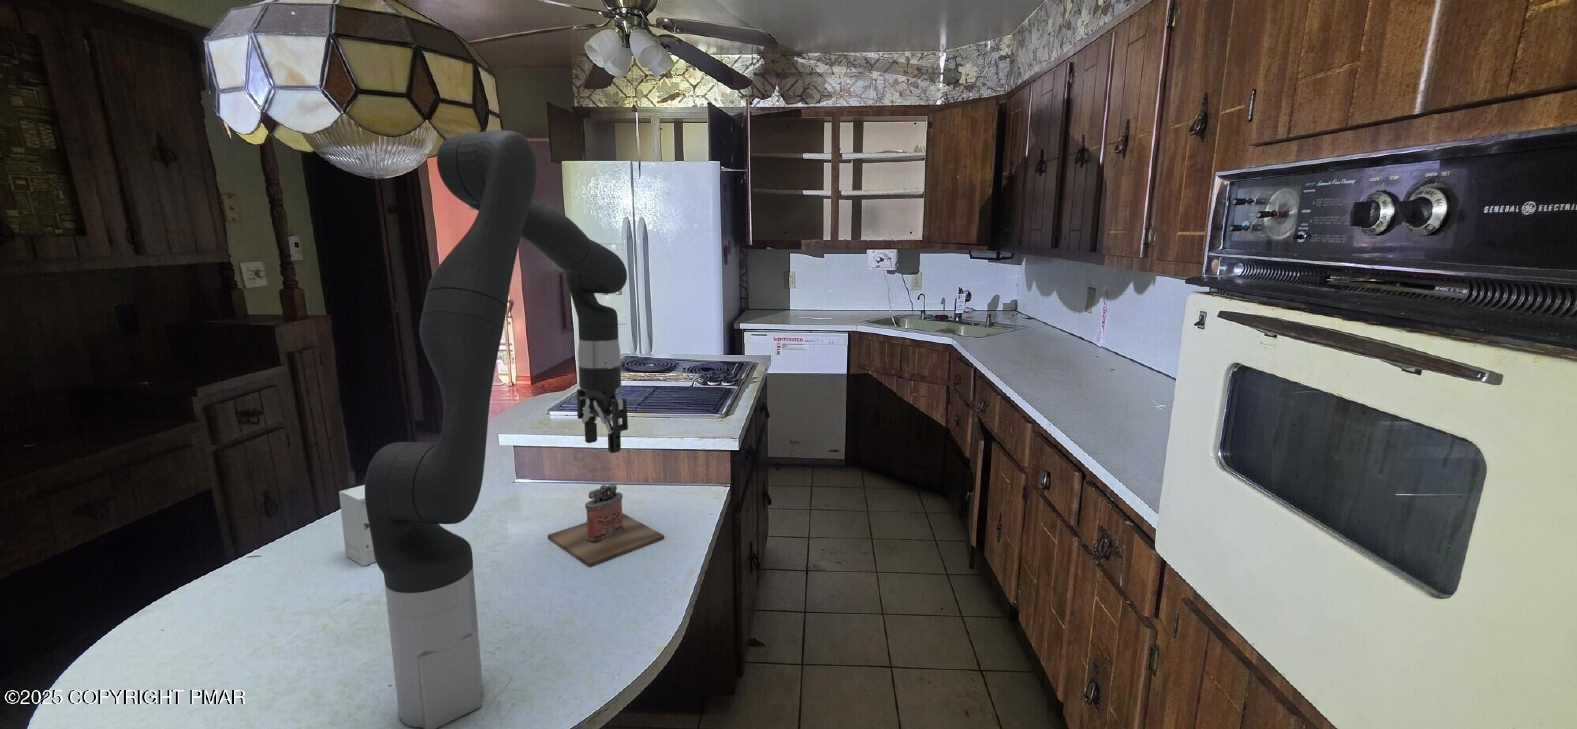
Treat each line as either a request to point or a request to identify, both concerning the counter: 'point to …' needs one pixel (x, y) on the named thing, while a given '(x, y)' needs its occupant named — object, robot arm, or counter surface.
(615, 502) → the lighter
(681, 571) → the counter surface
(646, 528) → the board
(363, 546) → the supplement box
